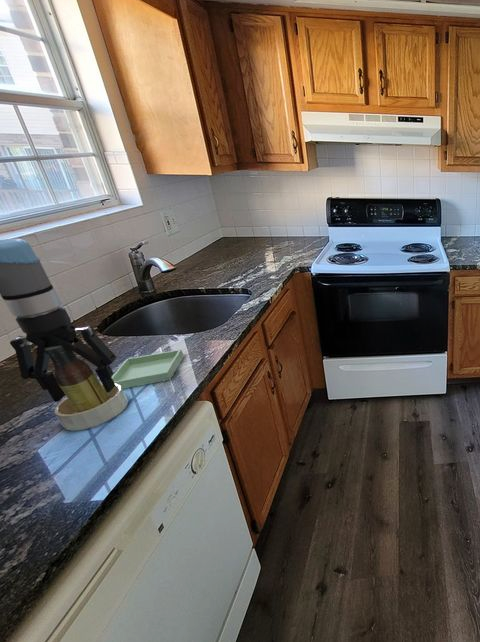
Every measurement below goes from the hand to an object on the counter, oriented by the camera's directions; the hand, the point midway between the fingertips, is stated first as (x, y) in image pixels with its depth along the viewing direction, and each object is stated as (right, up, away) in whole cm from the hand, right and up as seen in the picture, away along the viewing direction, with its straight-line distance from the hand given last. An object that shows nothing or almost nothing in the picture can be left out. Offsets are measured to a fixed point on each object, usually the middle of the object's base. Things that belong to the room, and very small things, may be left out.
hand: (86, 393), depth 89 cm
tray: (0, +2, +18) cm, 18 cm away
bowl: (0, -5, +3) cm, 6 cm away
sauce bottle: (0, -5, +3) cm, 6 cm away
